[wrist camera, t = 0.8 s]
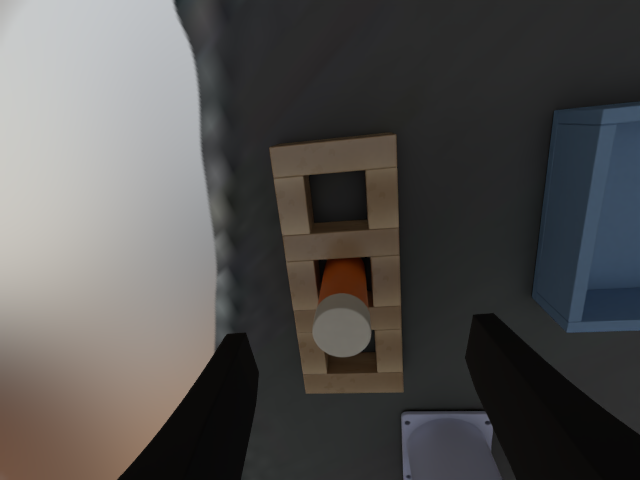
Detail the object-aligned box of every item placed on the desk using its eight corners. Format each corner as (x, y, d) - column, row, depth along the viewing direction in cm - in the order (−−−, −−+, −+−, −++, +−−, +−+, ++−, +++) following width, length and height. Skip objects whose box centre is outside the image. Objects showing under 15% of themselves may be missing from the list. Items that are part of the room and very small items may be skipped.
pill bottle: (366, 286, 27) (373, 357, 19) (326, 288, 27) (315, 358, 20) (364, 248, 26) (369, 306, 18) (322, 251, 26) (308, 309, 18)
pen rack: (399, 369, 30) (403, 392, 27) (309, 371, 31) (305, 393, 28) (391, 132, 23) (396, 134, 20) (277, 143, 24) (268, 147, 21)
